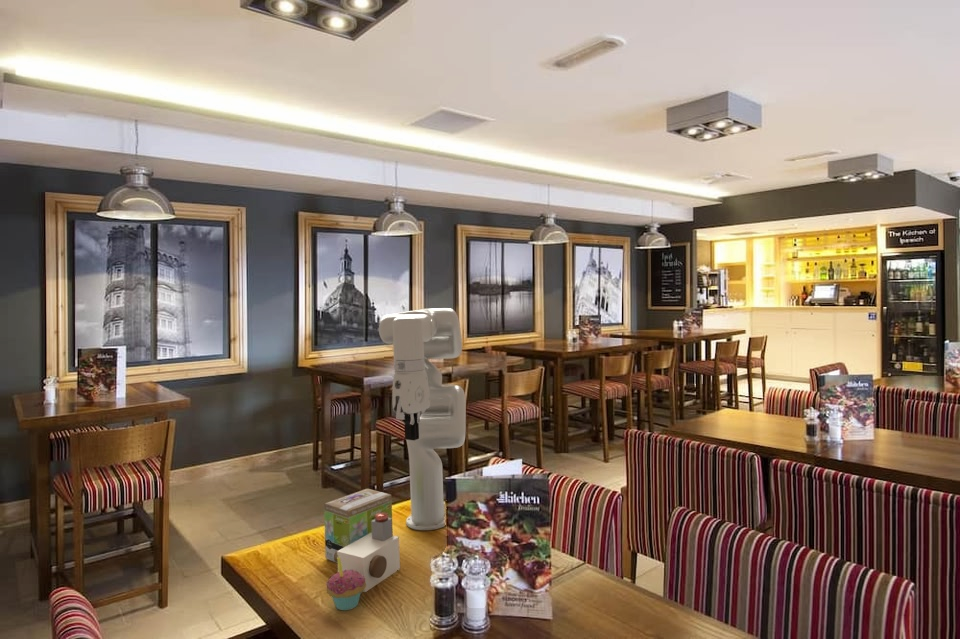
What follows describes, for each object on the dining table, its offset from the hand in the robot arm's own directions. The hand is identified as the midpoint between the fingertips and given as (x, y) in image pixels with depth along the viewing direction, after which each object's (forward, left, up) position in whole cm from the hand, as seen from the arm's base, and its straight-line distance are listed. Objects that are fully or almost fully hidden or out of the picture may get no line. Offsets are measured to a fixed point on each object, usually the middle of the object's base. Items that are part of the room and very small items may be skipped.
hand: (412, 439), depth 154 cm
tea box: (+3, -16, -31) cm, 35 cm away
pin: (+15, -6, -29) cm, 33 cm away
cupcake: (+24, -1, -31) cm, 40 cm away
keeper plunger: (+7, -4, -23) cm, 25 cm away
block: (+12, -5, -31) cm, 34 cm away
